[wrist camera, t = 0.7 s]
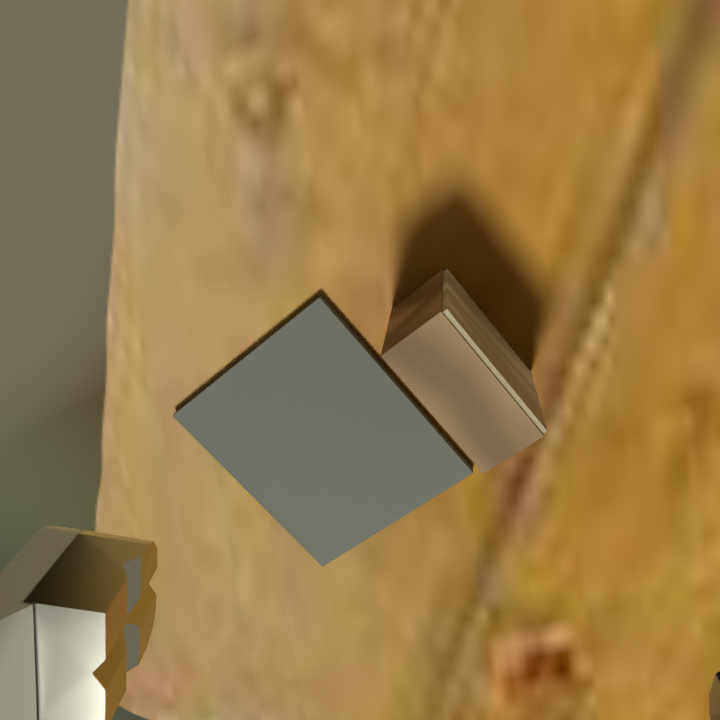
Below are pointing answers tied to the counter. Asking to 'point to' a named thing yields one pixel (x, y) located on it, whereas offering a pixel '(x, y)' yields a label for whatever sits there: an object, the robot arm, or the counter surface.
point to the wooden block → (463, 371)
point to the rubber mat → (323, 434)
